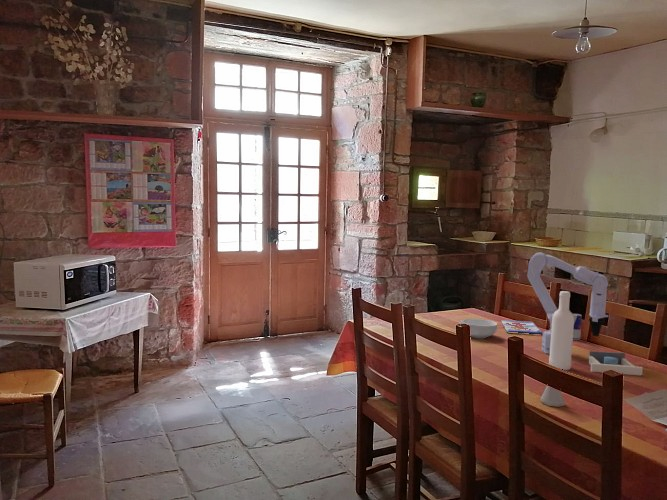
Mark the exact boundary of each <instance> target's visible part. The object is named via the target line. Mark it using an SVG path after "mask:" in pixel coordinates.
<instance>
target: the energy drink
mask: <svg viewBox="0 0 667 500" xmlns="http://www.w3.org/2000/svg"><path fill="white" fill-rule="evenodd" d="M572 314H573V317H574V328H573V340H579V341H580V340H581V337H582V336H581V333H582V323H583V322H582V321H583V320H582V319H583V316H582V314H579V313H572Z"/></svg>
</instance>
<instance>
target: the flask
mask: <svg viewBox="0 0 667 500" xmlns="http://www.w3.org/2000/svg"><path fill="white" fill-rule="evenodd" d="M545 387H546V388H545V389H544V391H543V392H542V395H541V397H540V402H541V403H542V404H544V405H545V406H549V407H555V408H557V407H558V408H559V407H564V406H566V404H565V401H564V398H563V394H562V390H561V391H558V390H556V389H554V388H551V387H549V386H547V385H546V386H545Z"/></svg>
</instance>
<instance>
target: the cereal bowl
mask: <svg viewBox="0 0 667 500" xmlns="http://www.w3.org/2000/svg"><path fill="white" fill-rule="evenodd" d="M461 324H468V325H469V326H470V333H471V336H470V338H473V339H487V338H486V337H490V336H493V335H494V334H495V333H496V332H497V330H498V325H499V324H498V322H496V321H493V320H490V319H484V318H465V319H462V320H460V325H461Z"/></svg>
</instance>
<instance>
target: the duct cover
mask: <svg viewBox="0 0 667 500" xmlns="http://www.w3.org/2000/svg"><path fill="white" fill-rule="evenodd" d="M589 356H593V357H594V358H595V359H596V360H597V361H598V362H599V363H601V364H604V357H614V358H617V359H618V365H621V358H625V359H626V353H625V352H616V351H615V352H613V351H598V350H596V351H595V350H589V351H588V357H589Z"/></svg>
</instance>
